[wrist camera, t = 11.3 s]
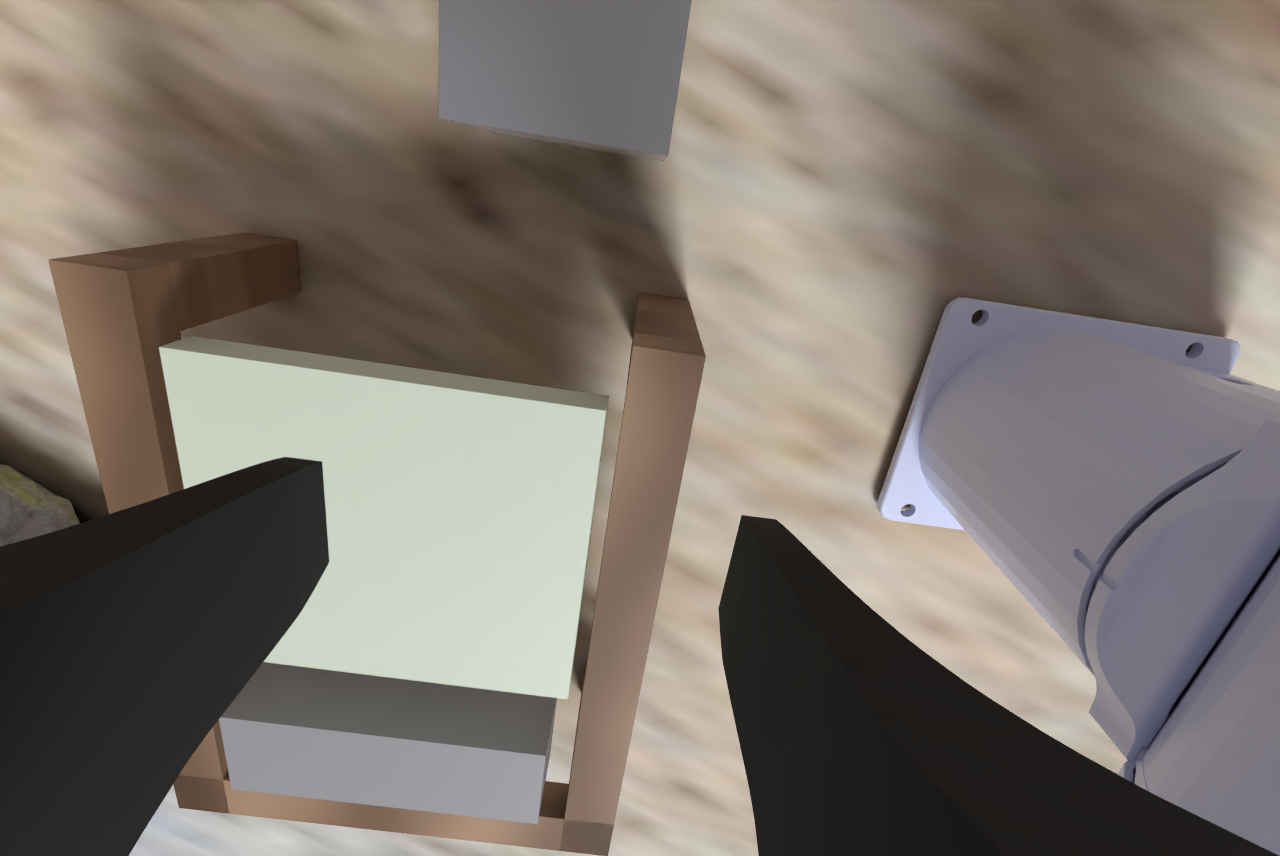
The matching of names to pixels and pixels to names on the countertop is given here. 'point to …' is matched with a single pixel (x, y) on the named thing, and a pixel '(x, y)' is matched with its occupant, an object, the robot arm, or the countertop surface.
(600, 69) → the stone
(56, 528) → the mineral specimen
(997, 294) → the countertop surface
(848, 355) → the countertop surface
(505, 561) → the trapdoor
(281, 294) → the trapdoor frame
